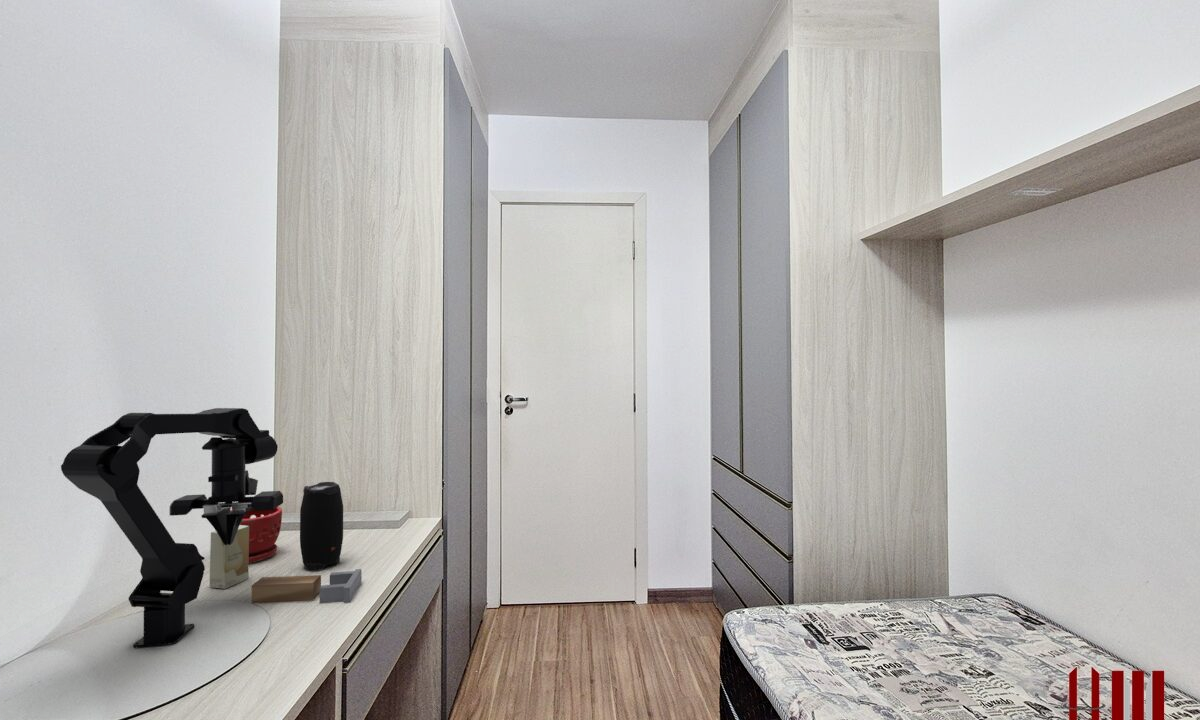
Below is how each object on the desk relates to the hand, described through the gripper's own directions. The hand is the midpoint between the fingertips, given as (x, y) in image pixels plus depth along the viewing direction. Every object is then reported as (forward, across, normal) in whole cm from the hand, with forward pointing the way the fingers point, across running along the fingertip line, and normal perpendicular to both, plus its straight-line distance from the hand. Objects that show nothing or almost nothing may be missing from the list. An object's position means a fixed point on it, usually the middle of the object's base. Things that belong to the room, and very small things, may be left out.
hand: (228, 544), depth 108 cm
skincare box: (+12, +4, -11) cm, 17 cm away
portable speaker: (+12, -12, -18) cm, 25 cm away
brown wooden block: (+12, -11, 0) cm, 17 cm away
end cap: (+12, -22, 0) cm, 25 cm away
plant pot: (+12, +6, -27) cm, 30 cm away
